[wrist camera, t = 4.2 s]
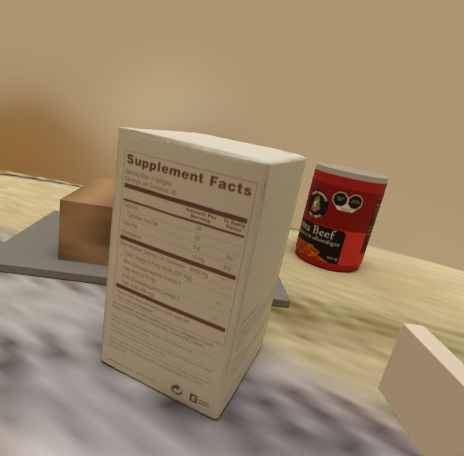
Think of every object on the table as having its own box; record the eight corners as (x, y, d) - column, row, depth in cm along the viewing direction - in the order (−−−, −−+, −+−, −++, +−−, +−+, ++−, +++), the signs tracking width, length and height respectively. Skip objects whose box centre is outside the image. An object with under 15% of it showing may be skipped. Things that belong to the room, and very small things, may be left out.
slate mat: (261, 246, 42) (262, 241, 41) (288, 307, 28) (290, 301, 28) (54, 215, 38) (54, 210, 38) (-25, 268, 25) (-25, 260, 25)
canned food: (282, 247, 43) (303, 159, 40) (329, 246, 47) (352, 166, 43) (323, 275, 36) (352, 173, 33) (373, 271, 40) (404, 180, 37)
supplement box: (170, 306, 25) (196, 131, 21) (264, 346, 23) (312, 155, 19) (94, 362, 18) (113, 122, 15) (215, 427, 16) (274, 158, 12)
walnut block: (187, 236, 38) (194, 193, 37) (182, 275, 29) (190, 219, 27) (95, 222, 37) (98, 177, 36) (57, 259, 27) (60, 199, 26)
